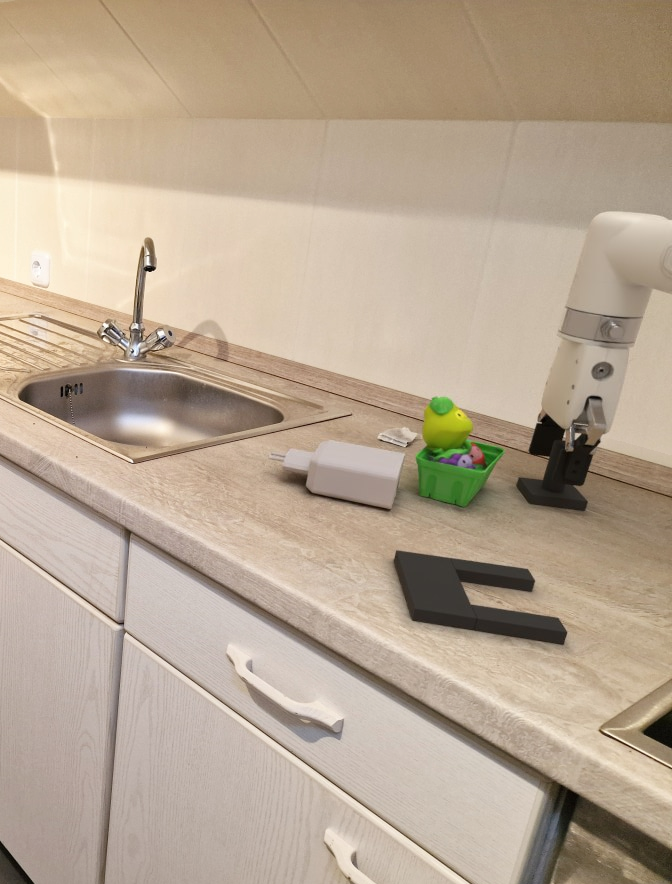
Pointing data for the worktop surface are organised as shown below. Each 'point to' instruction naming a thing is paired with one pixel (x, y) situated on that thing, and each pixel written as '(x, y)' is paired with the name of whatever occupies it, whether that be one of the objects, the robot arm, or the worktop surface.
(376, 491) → the charger
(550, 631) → the black flat u-shaped plate
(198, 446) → the worktop surface
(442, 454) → the fruit basket
